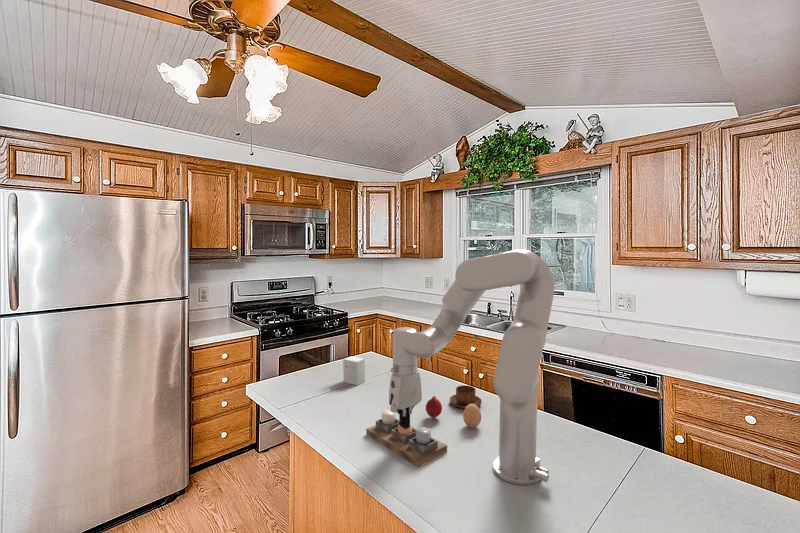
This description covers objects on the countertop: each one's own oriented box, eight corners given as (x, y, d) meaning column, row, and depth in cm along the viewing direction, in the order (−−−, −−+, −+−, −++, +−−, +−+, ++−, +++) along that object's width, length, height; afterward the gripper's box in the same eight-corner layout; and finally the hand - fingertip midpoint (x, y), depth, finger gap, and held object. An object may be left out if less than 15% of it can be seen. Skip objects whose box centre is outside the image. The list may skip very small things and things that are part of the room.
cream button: (398, 422, 125) (398, 413, 125) (387, 426, 123) (387, 417, 122) (389, 417, 129) (389, 408, 129) (379, 421, 126) (379, 412, 126)
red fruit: (441, 422, 133) (441, 400, 133) (424, 421, 135) (424, 398, 134) (442, 415, 139) (442, 393, 139) (426, 413, 140) (426, 392, 140)
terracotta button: (415, 436, 119) (415, 426, 119) (404, 441, 117) (404, 431, 116) (405, 431, 123) (405, 421, 123) (395, 435, 120) (395, 426, 120)
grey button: (433, 441, 113) (433, 431, 113) (423, 446, 110) (423, 436, 110) (423, 435, 117) (423, 426, 116) (412, 440, 114) (412, 430, 114)
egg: (481, 432, 127) (481, 408, 126) (462, 430, 128) (462, 407, 127) (481, 423, 133) (481, 401, 132) (463, 422, 134) (463, 399, 133)
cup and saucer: (487, 408, 145) (488, 392, 145) (459, 413, 141) (460, 396, 141) (470, 396, 157) (470, 381, 156) (444, 401, 152) (444, 385, 152)
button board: (447, 451, 115) (447, 438, 114) (417, 467, 107) (417, 453, 107) (394, 423, 133) (394, 412, 133) (366, 434, 125) (366, 422, 125)
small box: (365, 381, 172) (365, 358, 172) (357, 385, 168) (357, 361, 167) (351, 378, 177) (351, 355, 176) (343, 382, 172) (343, 358, 171)
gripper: (394, 377, 111) (394, 439, 112) (430, 366, 121) (430, 423, 122) (378, 370, 116) (378, 429, 118) (414, 360, 126) (413, 415, 127)
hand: (404, 426), depth 120 cm, fingers closed
